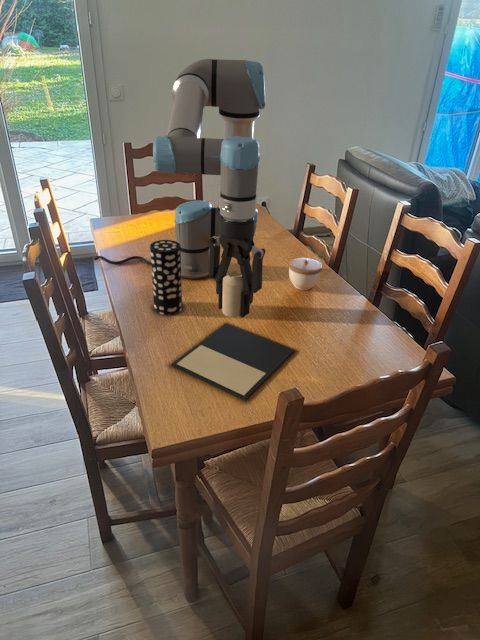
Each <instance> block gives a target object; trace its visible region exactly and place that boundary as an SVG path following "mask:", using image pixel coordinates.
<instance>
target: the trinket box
mask: <svg viewBox="0 0 480 640" xmlns="http://www.w3.org/2000/svg"><path fill="white" fill-rule="evenodd" d="M322 270H323V265H322V263H321V262H320V261H318V260H316V259H313V258H309V257H297V258H293V259H291V260H290V261H289V262H288V277H289V281H290V282H291V284H292V285H293V286H294V288H296V289H297V290H301V291H308V290H311V289H312V288H313V287H314V286H316V285H317V284H318V282H319V281H320V278H321V275H322Z"/></svg>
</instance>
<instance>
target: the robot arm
mask: <svg viewBox="0 0 480 640" xmlns="http://www.w3.org/2000/svg"><path fill="white" fill-rule="evenodd" d="M171 95H172V100H173V104H172V109H171V114H170V118H169V123H168V127H167V132H166V135H163V136H160V135H159V136H156V137H154V140H153V144H152V160H153V166H154V169H155V171H156V172H158V173H165V174H171V175H176V174H177V175H203V176H204V175H205V176H206V175H207V176H220V193H219V195H220V197H219V200H218V201H217V206H215V207H213V206H212V204H211V202H210V201H207V200H199V199H198V200H189V201H186V202H184V203H181V204H179V205H178V206H176V208H175V210H174V227H175V229H174V230H175V231H174V232H175V241H176V242H178V243H179V244H180V248H181V279H187V280H201V279H205V278H208V277H209V279H211V280H212V279H213V280H214V281H215V293H216V295H218V302H217V303H218V305H217V306H218V307H217V309H219V310H222V295H223V278H224V277H225V276H226V275H227V274H228V272H229V268H230V264H231V261H232V259H233V258H234V259H235V260H236V262H237V265H239V269H240V274H241V275H242V280H243V285H244V291H242V293H241V314H240V317H239V318H245V317H246V316H248V315H249V314H250V308H251V307H250V306H251V304H253V302H254V294H256V293H258V292H259V291H260V290H261V289H262V287H263V265H264V264H263V263H264V257H265V255H266V249H265V248H261V249H260V248H259V247H257V246H256V245H255V241H254V238H255V236H256V230H257V224H258V215H259V212H258V209H257V191H258V190H257V188H258V177H259V163H260V158H261V157H260V143H259V142H258V141H257V140H256V139H254V129H255V127H254V126H255V121H257V119H258V118H259V117H260V114H261V111H262V110H264V109H266V85H265V72H264V67H263V64H262V63H261V62H259V61H254V60H247V59H219V58H218V59H215V58H205V59H200V60H197V61H194V62H192V63H190V64H189V65H187V66H186V67H185V68H184V69H182V70H181V71H180V72H179V74H177V76H176V78H175V79H174V82H173V85H172V90H171ZM205 107H212V108H218V115H219V116H220V117H221V118H222V119H223V138H211V137H210V138H208V137H201V134H202V133H201V132H202V124H203V116H204V109H205ZM221 248H222V251H221ZM250 253H251V254H250ZM251 258H252V262H251ZM99 259H100V260H103V261H104V262H106V263H108V264H111V265H122V264H124V263H127V262H129V261H131V260H141V261H143V262H144V263H145V264H147V265H149V266H151V261H149V260H147V259H146V258H145V257H143V256H140V255H133V256H130V257H126V258H125V259H122V260H118V261H113V260H110V259H108V258H107V257H105V256H103V255H97V256H95V257H94V258H93V260H94V261H97V260H99Z"/></svg>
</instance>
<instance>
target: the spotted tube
mask: <svg viewBox="0 0 480 640" xmlns="http://www.w3.org/2000/svg"><path fill="white" fill-rule="evenodd" d="M149 251H150V262H151V265H150V266H151V267H150V268H151V283H152V298H153V310H154V312H156V313H157V314H159V315H163V316H171V315H175V314H178V313H181V311H182V309H183V294H182V293H183V291H182V290H183V287H182V278H181V248H180V244H179V243H178V242H176V240H172V239H159V240H156V241H153V242H152V243H150V244H149Z"/></svg>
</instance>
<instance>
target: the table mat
mask: <svg viewBox="0 0 480 640" xmlns="http://www.w3.org/2000/svg"><path fill="white" fill-rule="evenodd" d="M294 352H295V349H293V348H290V347H288V346H285V345H282V344H280V343H277V342H276V341H273V340H270V339H269V338H268V339H267V338H265V337H262V336H260V335H257V334H255V333H253V332H250V331H247V330H245V329H242V328H240V327H237V326H234V325H232V324H230V323H228V322H225V323H224V324H222V325H221V326H220V327H219V328H217V329H216V330H214V331H213V332H212V333H211V334H209V335H208V336H206V337H205V338H204V339H203V340H201V341H199V343H198V344H196V345H195V346H194V347H192V348H191V349H190V350H188V351H187V352H186V353H184V354H183V355H182V356H180V357H178V359H176V360H175V361H173V362H172V363H171V364H170V366H171V367H173V368H175V369H177V370H179V371H181V372H184V374H185V373H186V374H188V375H190V376H192V377H193V378H196V379H198V380H200V381H203V382H204V383H207V384H209V385H211V386H213V387H215V388H218V389H219V390H221V391H223V392H225V393H228V394H230V395H232V396H234V397H236V398H238V399H240V400H243V401H244V402H246V401H247V400H248V399H249V398H250V397H251V396H252V394H253V393H255V392H256V390H258V389H259V388H260V386H261V385H263V383H264V382H265V381H266V380H268V378H270V376H271V375H272V374H273V373H274V372H275V371H276V370H278V368H280V366H281V365H282V364H283V363H284V362H285V361H286V360H287V359H288V358H289V357H290V356H291V355H292V354H293V353H294Z"/></svg>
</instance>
